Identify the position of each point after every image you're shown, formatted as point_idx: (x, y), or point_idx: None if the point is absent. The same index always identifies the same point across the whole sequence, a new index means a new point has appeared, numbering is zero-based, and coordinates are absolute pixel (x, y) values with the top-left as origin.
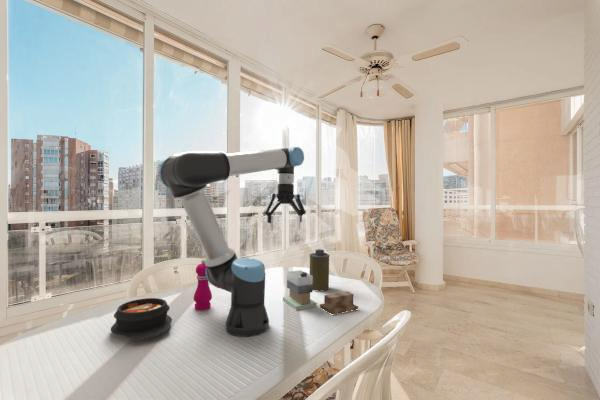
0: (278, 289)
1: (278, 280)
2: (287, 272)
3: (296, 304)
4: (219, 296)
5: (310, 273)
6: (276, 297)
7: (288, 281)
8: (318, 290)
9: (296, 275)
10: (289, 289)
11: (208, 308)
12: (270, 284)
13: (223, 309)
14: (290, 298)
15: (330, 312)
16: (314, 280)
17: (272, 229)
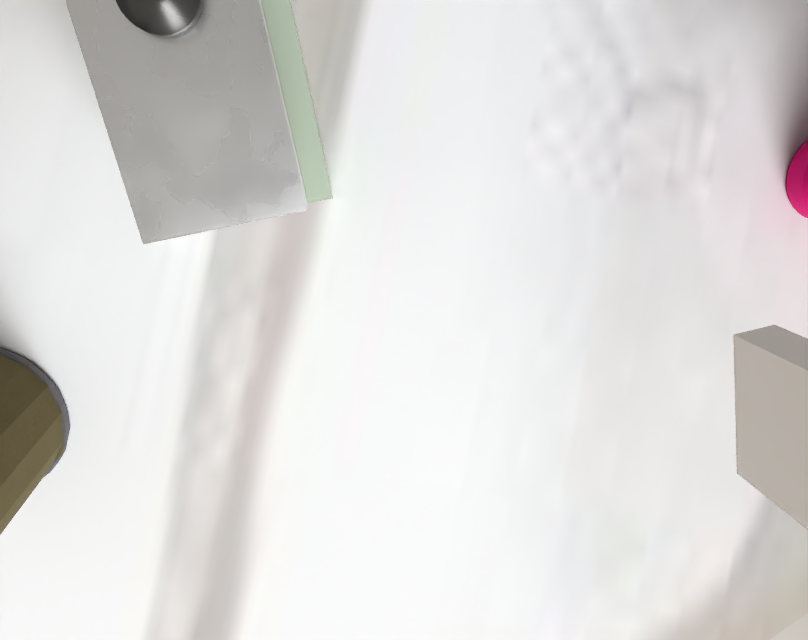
0: (313, 437)
1: (273, 636)
2: (305, 199)
3: (266, 3)
4: (705, 359)
5: (11, 470)
6: (363, 269)
7: (299, 167)
8: (1, 350)
9: (240, 26)
10: None
11: (804, 144)
12: (348, 553)
13: (726, 116)
14: None
15: None
16: (1, 402)
17: (762, 339)
